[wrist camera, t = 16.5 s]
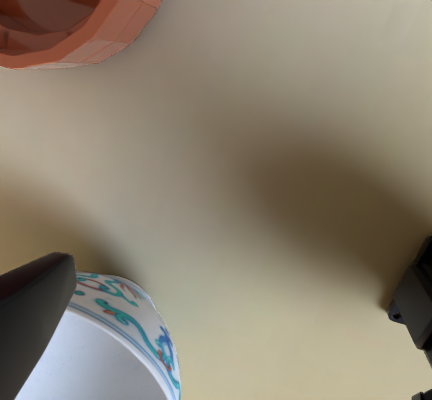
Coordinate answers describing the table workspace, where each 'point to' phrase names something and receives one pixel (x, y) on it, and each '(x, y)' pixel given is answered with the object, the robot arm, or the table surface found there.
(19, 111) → the table surface
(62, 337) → the chinaware
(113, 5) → the bowl
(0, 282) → the robot arm
